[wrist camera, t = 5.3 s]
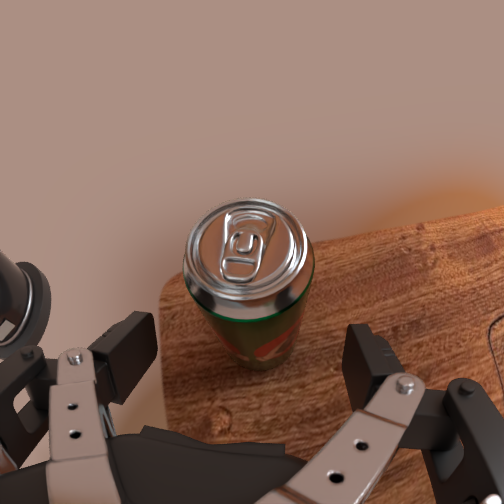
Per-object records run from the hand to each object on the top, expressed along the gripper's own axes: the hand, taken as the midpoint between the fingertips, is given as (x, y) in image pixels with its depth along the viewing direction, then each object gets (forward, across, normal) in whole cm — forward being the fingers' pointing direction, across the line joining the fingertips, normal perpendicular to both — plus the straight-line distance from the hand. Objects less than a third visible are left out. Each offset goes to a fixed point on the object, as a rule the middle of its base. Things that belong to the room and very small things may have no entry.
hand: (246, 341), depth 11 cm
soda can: (+8, 0, +5) cm, 10 cm away
